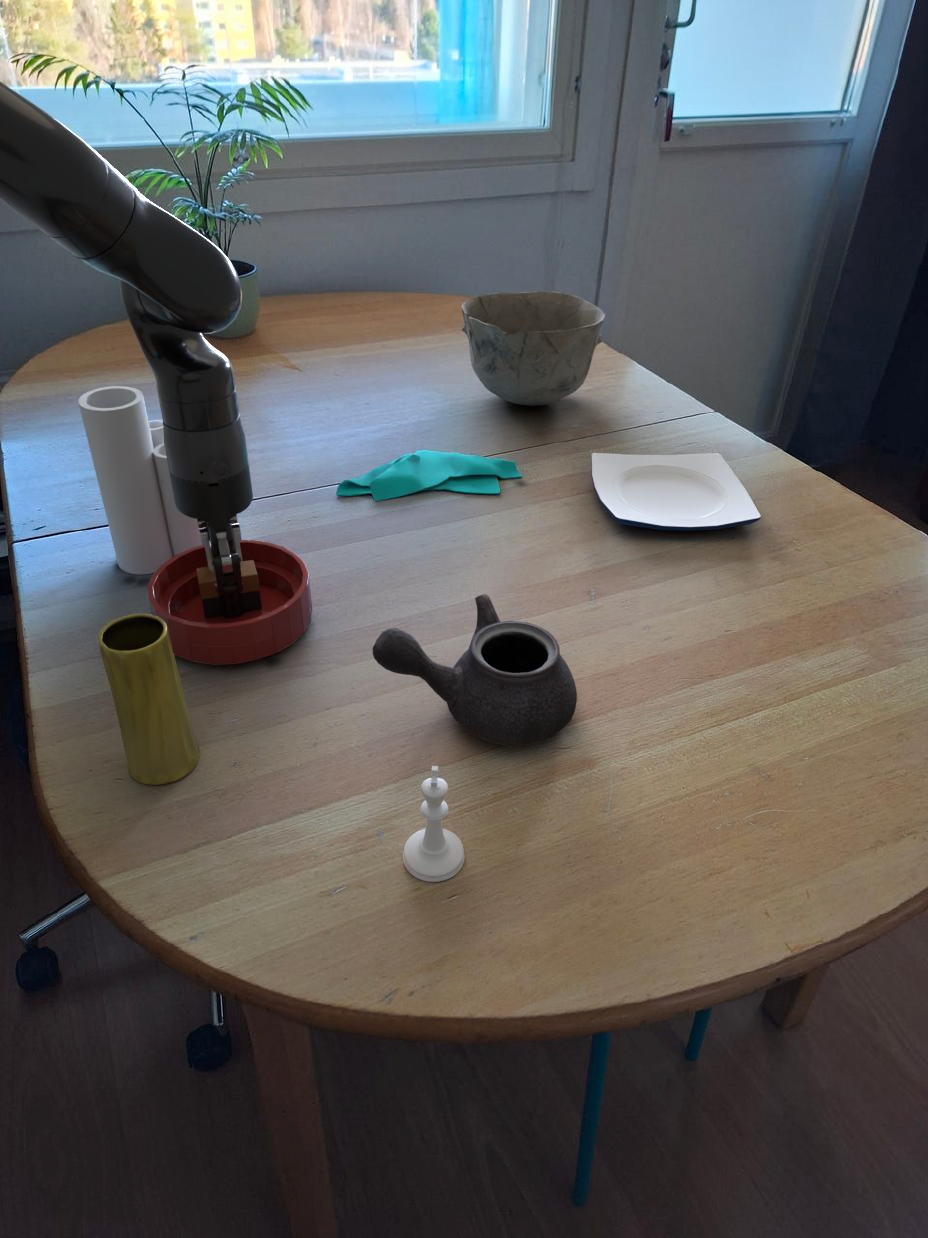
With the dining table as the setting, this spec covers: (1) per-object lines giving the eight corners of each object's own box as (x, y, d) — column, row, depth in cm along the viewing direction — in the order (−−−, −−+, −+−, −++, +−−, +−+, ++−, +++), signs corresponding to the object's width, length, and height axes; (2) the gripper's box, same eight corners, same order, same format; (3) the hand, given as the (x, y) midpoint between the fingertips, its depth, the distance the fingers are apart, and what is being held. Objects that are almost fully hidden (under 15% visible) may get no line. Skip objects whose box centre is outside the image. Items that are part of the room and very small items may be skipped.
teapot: (534, 641, 93) (541, 561, 87) (596, 739, 81) (609, 655, 75) (359, 673, 88) (354, 591, 82) (399, 783, 76) (396, 696, 70)
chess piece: (465, 833, 72) (469, 745, 66) (463, 883, 68) (467, 795, 62) (405, 831, 72) (403, 743, 66) (400, 881, 68) (397, 792, 62)
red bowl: (162, 684, 85) (151, 639, 82) (153, 593, 98) (143, 552, 94) (326, 653, 90) (322, 610, 87) (297, 571, 102) (293, 530, 99)
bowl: (442, 383, 150) (443, 294, 141) (554, 368, 157) (562, 282, 149) (496, 434, 134) (500, 337, 125) (618, 415, 141) (631, 321, 132)
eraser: (205, 618, 93) (198, 583, 90) (202, 603, 95) (195, 568, 92) (262, 609, 94) (257, 574, 92) (258, 593, 97) (253, 559, 94)
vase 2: (116, 757, 77) (78, 629, 69) (180, 727, 81) (151, 600, 72) (147, 797, 74) (111, 667, 65) (212, 763, 77) (187, 635, 69)
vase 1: (120, 579, 100) (79, 414, 88) (115, 548, 105) (76, 388, 93) (221, 561, 103) (194, 400, 91) (211, 531, 109) (185, 376, 97)
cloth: (511, 451, 129) (512, 436, 128) (529, 495, 119) (530, 480, 117) (335, 457, 126) (334, 442, 125) (336, 503, 115) (335, 487, 114)
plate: (766, 539, 111) (771, 521, 109) (607, 540, 110) (610, 522, 108) (720, 466, 127) (723, 449, 126) (581, 466, 126) (583, 449, 124)
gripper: (163, 435, 89) (189, 577, 99) (173, 499, 78) (202, 650, 88) (238, 427, 91) (256, 566, 101) (258, 488, 80) (276, 637, 90)
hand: (231, 605), depth 95 cm, fingers closed on eraser, 3 cm apart
